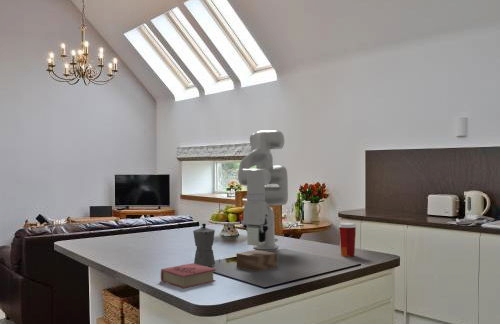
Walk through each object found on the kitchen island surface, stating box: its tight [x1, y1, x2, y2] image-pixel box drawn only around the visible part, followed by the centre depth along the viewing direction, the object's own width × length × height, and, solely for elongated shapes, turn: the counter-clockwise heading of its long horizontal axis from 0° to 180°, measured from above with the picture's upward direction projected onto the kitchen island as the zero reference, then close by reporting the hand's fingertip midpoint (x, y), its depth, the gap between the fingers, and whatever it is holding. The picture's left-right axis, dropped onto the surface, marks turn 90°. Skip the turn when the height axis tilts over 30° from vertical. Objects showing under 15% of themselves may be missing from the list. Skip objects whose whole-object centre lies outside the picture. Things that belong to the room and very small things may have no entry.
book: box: [160, 262, 216, 289], centre depth 174 cm, size 14×15×5 cm
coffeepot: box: [193, 223, 216, 267], centre depth 202 cm, size 15×9×18 cm, turn 13°
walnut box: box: [236, 249, 278, 272], centre depth 197 cm, size 12×12×6 cm
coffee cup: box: [337, 222, 357, 258], centre depth 219 cm, size 8×8×15 cm
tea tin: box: [246, 225, 265, 246], centre depth 196 cm, size 5×5×8 cm
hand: (256, 240), depth 197 cm, fingers closed on tea tin, 5 cm apart
